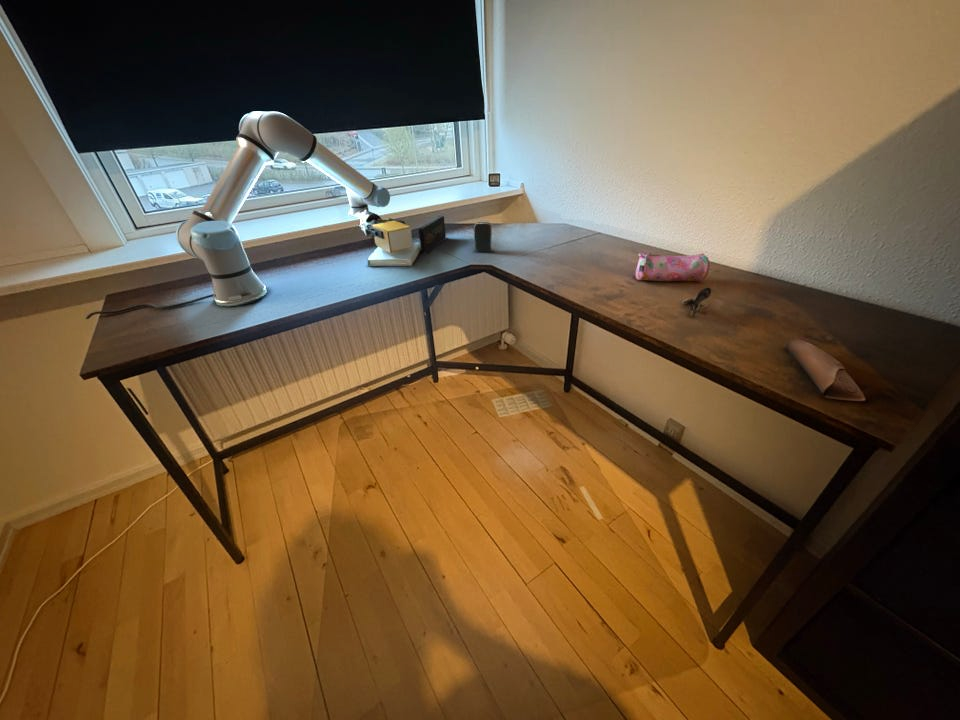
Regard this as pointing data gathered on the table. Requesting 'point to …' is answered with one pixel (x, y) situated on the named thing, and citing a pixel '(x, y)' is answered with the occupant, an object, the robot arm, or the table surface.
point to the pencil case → (672, 267)
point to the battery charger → (483, 236)
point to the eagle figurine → (698, 301)
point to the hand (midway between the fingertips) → (395, 232)
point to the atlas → (394, 257)
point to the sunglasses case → (825, 372)
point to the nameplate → (432, 233)
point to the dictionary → (394, 236)
